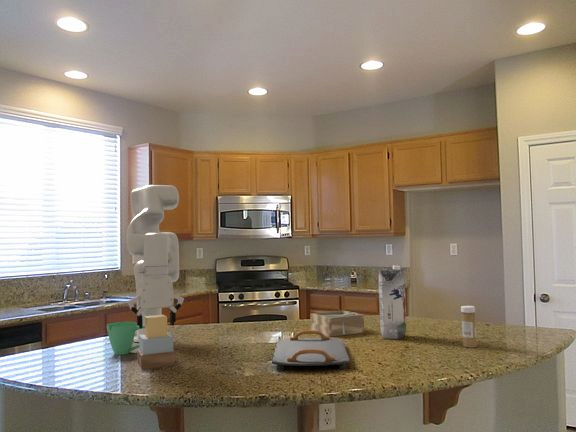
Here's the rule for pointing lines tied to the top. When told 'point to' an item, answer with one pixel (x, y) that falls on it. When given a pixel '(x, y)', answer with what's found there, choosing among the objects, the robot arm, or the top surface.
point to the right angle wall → (338, 316)
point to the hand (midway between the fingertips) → (156, 326)
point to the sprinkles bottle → (468, 326)
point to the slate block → (155, 344)
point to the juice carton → (392, 303)
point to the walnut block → (155, 359)
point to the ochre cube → (155, 326)
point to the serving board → (310, 351)
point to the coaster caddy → (337, 323)
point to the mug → (122, 336)
